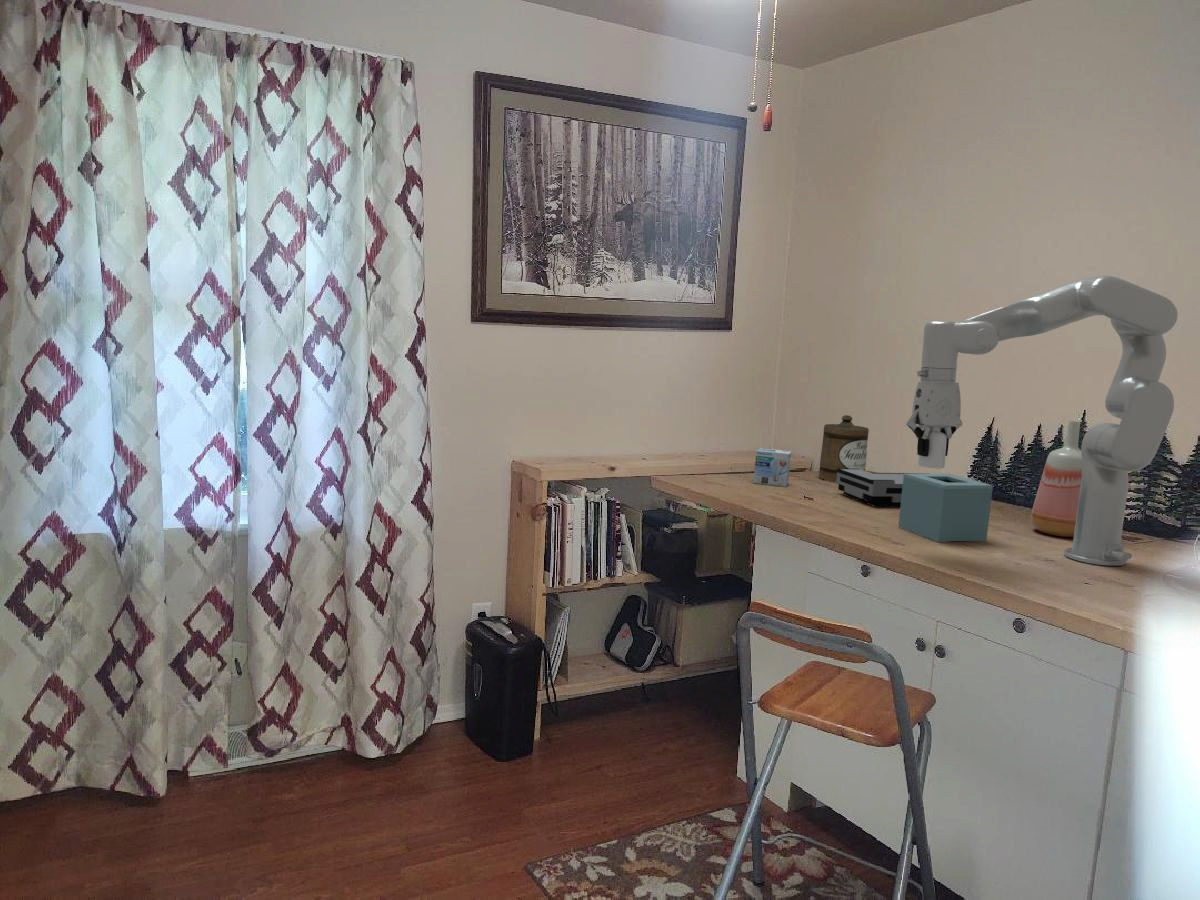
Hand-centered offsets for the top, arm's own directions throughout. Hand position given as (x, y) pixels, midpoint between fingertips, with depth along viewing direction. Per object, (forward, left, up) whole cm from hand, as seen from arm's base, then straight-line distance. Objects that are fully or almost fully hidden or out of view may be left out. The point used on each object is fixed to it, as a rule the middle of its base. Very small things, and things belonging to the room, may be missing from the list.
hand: (932, 454), depth 205 cm
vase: (+11, -50, -22) cm, 56 cm away
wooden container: (+89, -33, -22) cm, 98 cm away
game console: (+54, -32, -23) cm, 67 cm away
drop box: (+13, -15, -22) cm, 30 cm away
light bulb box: (+82, -3, -22) cm, 85 cm away
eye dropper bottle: (0, 0, -3) cm, 3 cm away
